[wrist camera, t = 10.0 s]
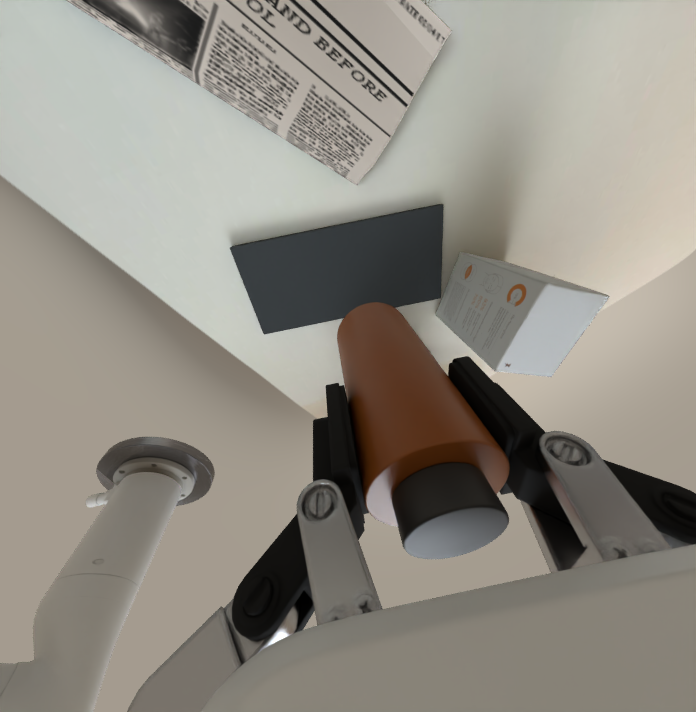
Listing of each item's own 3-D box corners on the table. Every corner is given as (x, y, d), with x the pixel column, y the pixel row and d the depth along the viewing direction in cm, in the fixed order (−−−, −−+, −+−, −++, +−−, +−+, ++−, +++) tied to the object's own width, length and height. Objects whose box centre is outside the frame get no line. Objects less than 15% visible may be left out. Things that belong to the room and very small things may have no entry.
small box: (476, 321, 35) (551, 379, 24) (434, 315, 34) (493, 373, 23) (506, 260, 31) (614, 295, 20) (459, 250, 29) (546, 282, 19)
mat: (265, 330, 32) (263, 334, 31) (232, 246, 27) (229, 247, 26) (437, 295, 32) (440, 298, 31) (439, 204, 27) (443, 204, 26)
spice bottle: (343, 370, 17) (381, 583, 8) (330, 310, 15) (360, 511, 5) (408, 357, 17) (522, 553, 8) (405, 295, 15) (564, 468, 5)
